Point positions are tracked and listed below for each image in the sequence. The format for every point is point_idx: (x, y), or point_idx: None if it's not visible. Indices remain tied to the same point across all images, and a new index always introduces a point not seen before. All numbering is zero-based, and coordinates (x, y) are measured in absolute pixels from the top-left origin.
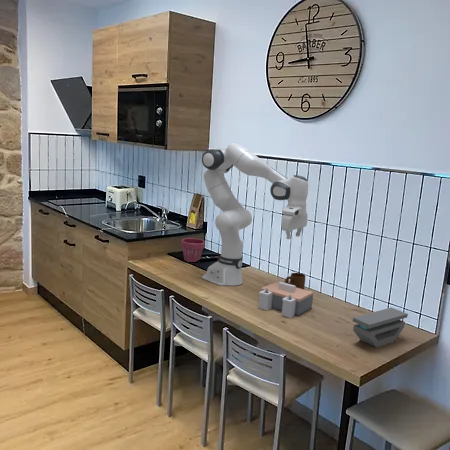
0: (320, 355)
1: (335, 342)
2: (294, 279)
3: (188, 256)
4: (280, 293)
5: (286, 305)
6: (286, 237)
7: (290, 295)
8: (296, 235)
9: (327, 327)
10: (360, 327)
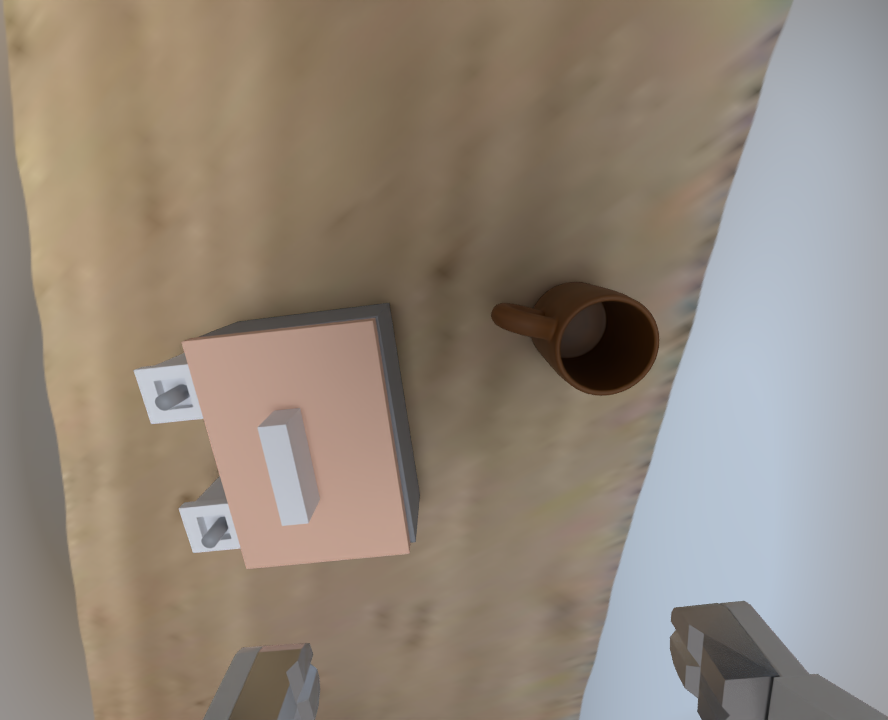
0: (98, 703)
1: (217, 689)
2: (547, 347)
3: None
4: (223, 465)
5: None
6: (230, 667)
7: (209, 544)
8: (680, 634)
9: (299, 623)
10: None
